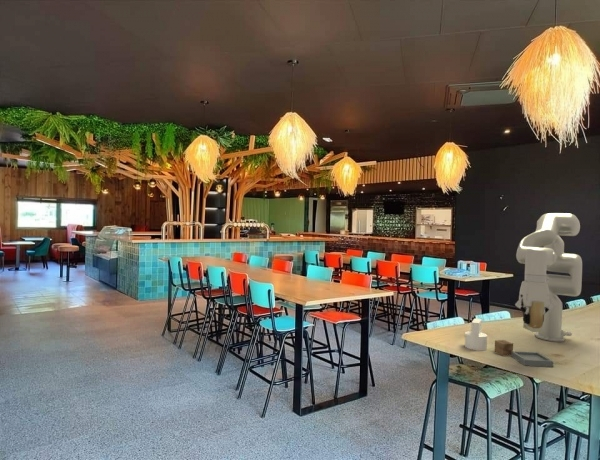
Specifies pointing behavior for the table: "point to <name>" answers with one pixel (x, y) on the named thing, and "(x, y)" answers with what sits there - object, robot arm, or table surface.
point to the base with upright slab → (476, 337)
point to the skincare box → (535, 317)
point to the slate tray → (532, 358)
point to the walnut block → (503, 347)
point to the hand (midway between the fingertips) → (533, 323)
